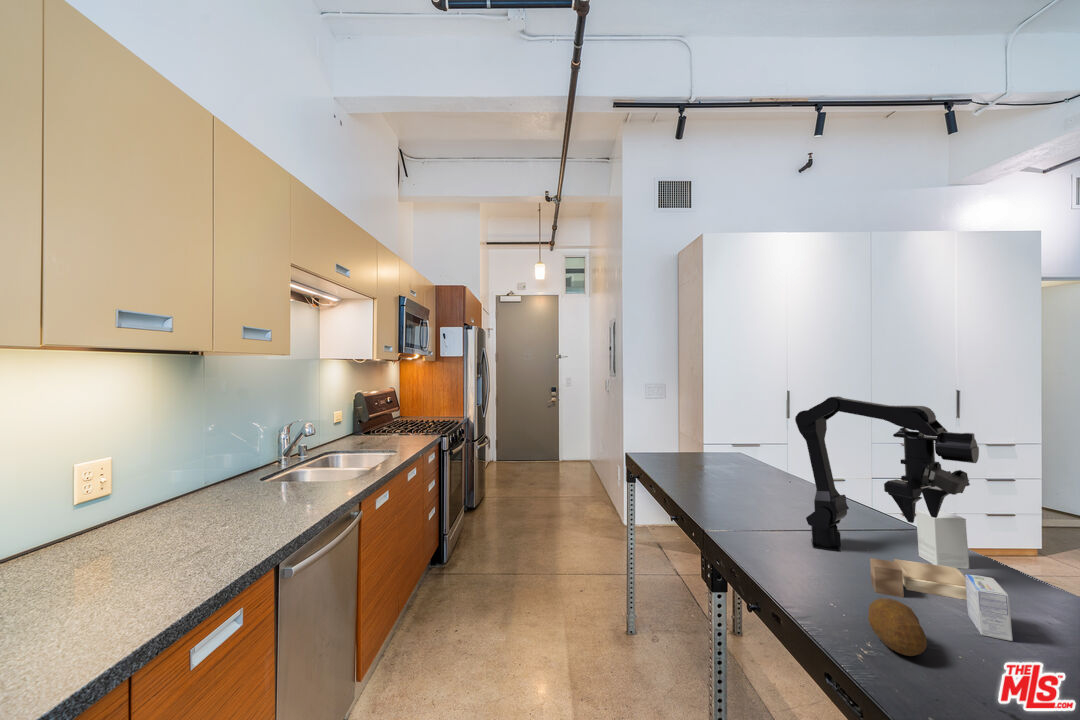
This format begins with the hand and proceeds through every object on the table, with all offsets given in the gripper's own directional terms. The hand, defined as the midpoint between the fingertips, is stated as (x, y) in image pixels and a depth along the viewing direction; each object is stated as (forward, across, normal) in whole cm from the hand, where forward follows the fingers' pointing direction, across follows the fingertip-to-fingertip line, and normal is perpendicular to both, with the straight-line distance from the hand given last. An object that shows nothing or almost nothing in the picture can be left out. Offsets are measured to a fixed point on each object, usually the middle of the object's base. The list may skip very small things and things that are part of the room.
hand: (922, 519), depth 107 cm
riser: (+13, -4, -4) cm, 14 cm away
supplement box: (+14, +12, +2) cm, 19 cm away
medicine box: (+14, -15, -18) cm, 27 cm away
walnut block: (+14, -16, -1) cm, 21 cm away
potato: (+14, -36, -15) cm, 42 cm away
